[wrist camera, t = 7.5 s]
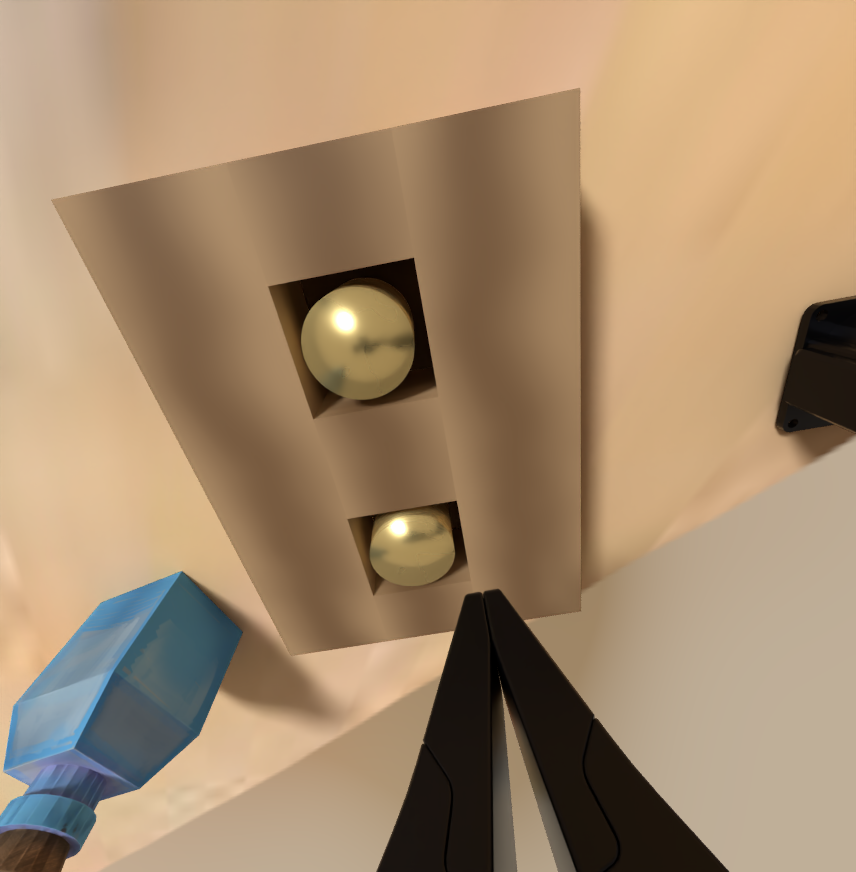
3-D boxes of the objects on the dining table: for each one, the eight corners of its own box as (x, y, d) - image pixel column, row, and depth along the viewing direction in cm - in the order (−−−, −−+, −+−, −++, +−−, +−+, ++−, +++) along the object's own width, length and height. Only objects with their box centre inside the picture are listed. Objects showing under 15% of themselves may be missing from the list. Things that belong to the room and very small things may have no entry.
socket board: (539, 123, 15) (580, 87, 11) (556, 557, 25) (580, 611, 21) (133, 208, 16) (51, 200, 12) (307, 597, 25) (291, 656, 22)
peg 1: (403, 269, 16) (402, 276, 13) (421, 361, 18) (423, 389, 15) (310, 287, 17) (285, 299, 13) (336, 376, 18) (320, 408, 15)
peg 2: (441, 469, 21) (448, 514, 18) (452, 528, 23) (460, 579, 19) (368, 482, 21) (360, 529, 18) (384, 539, 23) (380, 591, 20)
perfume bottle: (167, 658, 28) (13, 925, 17) (101, 602, 25) (-132, 876, 14) (243, 632, 27) (130, 896, 16) (182, 570, 24) (-2, 838, 13)
